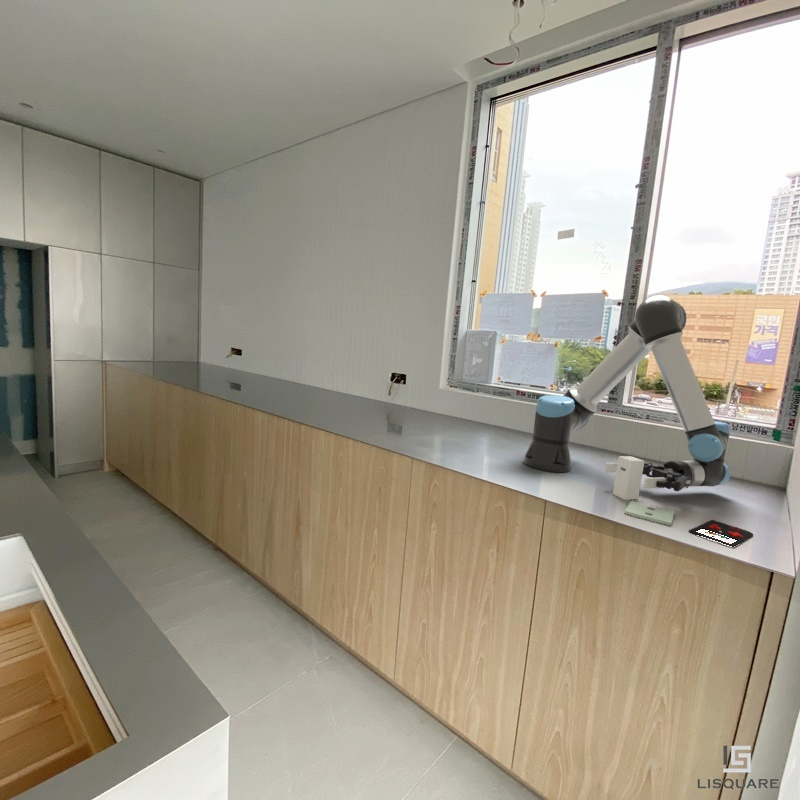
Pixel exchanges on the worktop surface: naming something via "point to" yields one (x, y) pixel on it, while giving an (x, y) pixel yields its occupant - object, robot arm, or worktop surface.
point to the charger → (628, 477)
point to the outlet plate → (650, 513)
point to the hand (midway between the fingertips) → (624, 475)
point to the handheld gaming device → (723, 532)
